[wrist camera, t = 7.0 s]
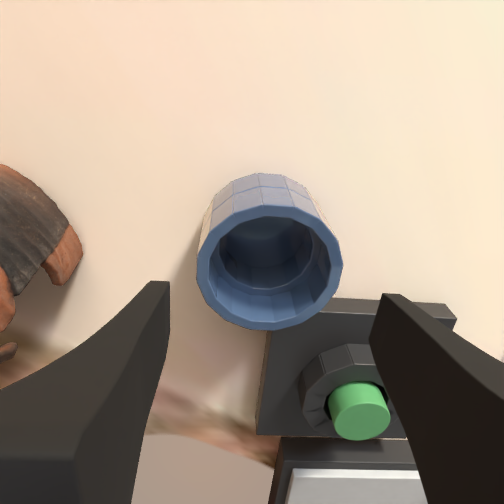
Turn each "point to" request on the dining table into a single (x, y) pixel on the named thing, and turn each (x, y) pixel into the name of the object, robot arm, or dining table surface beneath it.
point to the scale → (345, 472)
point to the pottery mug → (30, 243)
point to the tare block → (323, 368)
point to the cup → (267, 254)
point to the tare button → (358, 410)
